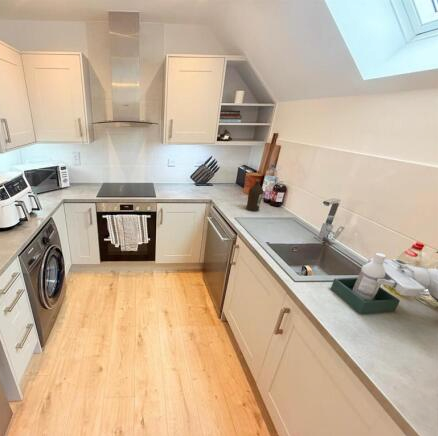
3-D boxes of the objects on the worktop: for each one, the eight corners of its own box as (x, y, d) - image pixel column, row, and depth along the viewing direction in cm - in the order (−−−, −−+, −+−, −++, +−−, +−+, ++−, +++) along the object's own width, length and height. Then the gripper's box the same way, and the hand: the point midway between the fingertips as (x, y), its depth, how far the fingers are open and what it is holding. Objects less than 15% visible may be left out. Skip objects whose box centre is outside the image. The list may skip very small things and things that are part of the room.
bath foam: (359, 288, 102) (377, 249, 94) (377, 299, 96) (398, 258, 88) (347, 291, 100) (364, 251, 92) (364, 302, 94) (384, 261, 86)
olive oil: (243, 209, 194) (249, 180, 184) (247, 206, 201) (253, 177, 191) (257, 212, 188) (263, 182, 178) (260, 209, 195) (267, 179, 185)
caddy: (360, 286, 106) (365, 276, 104) (394, 311, 93) (400, 300, 91) (330, 288, 105) (334, 278, 103) (360, 313, 92) (365, 302, 90)
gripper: (430, 302, 83) (385, 297, 86) (388, 269, 102) (351, 265, 104) (439, 288, 81) (392, 284, 83) (394, 256, 99) (356, 253, 102)
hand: (369, 273), depth 94 cm, fingers closed on bath foam, 7 cm apart
